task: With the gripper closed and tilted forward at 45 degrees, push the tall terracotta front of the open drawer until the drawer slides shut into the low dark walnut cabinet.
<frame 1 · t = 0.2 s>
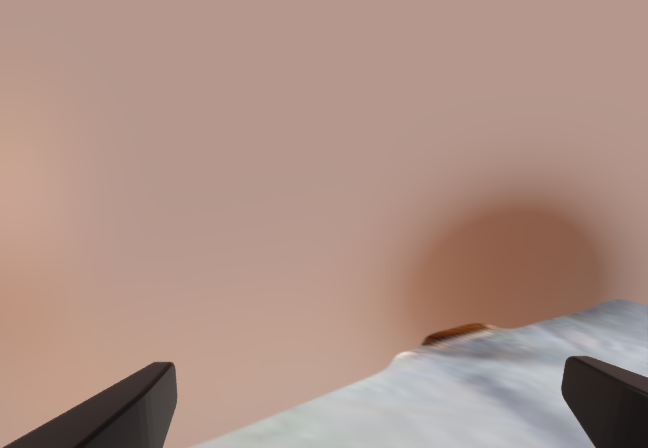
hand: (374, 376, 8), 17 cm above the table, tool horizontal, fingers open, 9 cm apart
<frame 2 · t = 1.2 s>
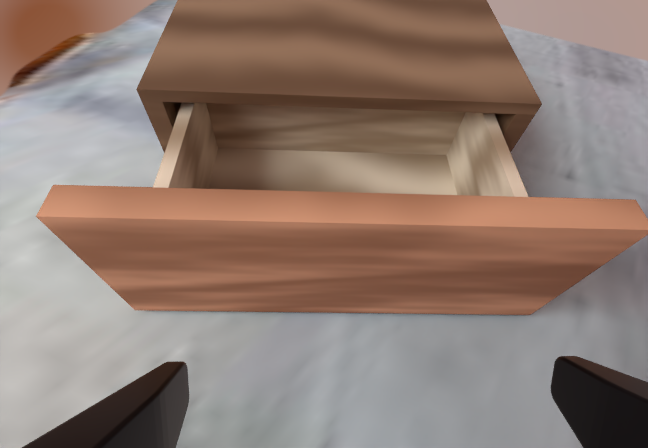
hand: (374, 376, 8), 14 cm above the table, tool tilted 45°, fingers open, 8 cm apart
cabinet: (332, 132, 33), on the table
drawer: (340, 174, 23), point 5 cm above the table, slide at 8.0 cm
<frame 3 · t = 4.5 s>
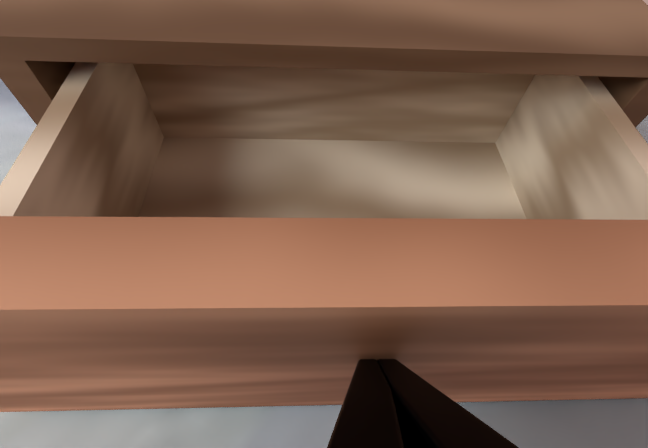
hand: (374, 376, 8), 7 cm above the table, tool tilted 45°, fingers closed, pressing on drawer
cabinet: (330, 121, 23), on the table
drawer: (348, 173, 13), point 5 cm above the table, slide at 7.3 cm, touching gripper
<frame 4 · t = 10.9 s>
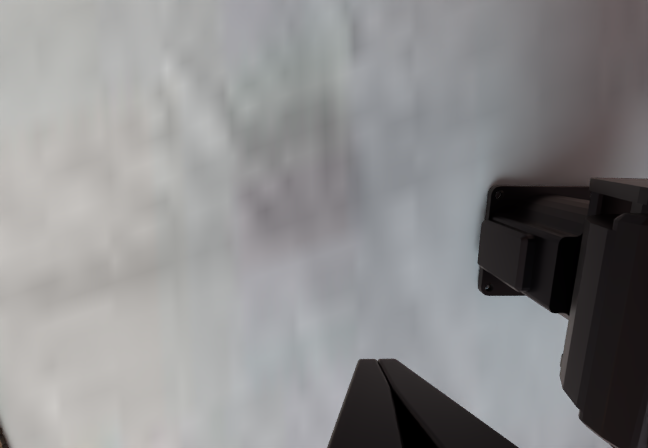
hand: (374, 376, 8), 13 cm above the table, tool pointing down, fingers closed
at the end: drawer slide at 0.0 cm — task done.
